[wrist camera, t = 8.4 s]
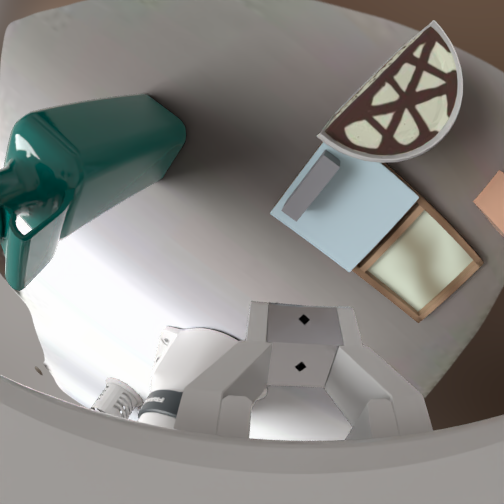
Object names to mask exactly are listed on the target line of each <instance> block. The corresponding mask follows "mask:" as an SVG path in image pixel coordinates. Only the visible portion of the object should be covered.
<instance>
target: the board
mask: <svg viewBox="0 0 504 504" xmlns="http://www.w3.org/2000/svg"><path fill="white" fill-rule="evenodd" d="M322 143H323V142H322ZM322 143H321V144H322ZM319 147H320V146H319ZM319 147H318V148H319ZM316 151H317V150H316ZM316 151H315V152H316ZM313 155H314V154H313ZM313 155H312V156H313ZM310 159H311V158H310ZM310 159H309V160H310ZM307 163H308V162H307ZM307 163H306V164H307ZM382 164H383V165H384V166H385V167H387V168H388V169H389V170H390V171H391V172H392V173H393V174H395V175H396V176H397V177H398V178H399V179H400V180H401V181H403V182H404V183H405V184H406V185H407V186H408V187H409V188H410V189H411V190H412V191H414V192H415V193H416V194H417V195H418V197H419V199H418V200H417V201H416V202H415V203H414V204H413V205H412V207H411V208H410V209H409V210H408V211H407V212H406V213H405V214H404V215H403V217H402V218H401V219H400V220H399V221H398V222H397V223H396V224H395V225H394V226H393V228H392V229H391V230H390V231H389V232H388V233H387V234H386V235H385V236H384V237H383V238H382V239H381V240H380V241H379V242H378V244H377V245H376V246H375V247H374V248H373V249H372V250H371V251H370V252H369V253H368V254H367V255H366V256H365V257H364V258H363V259H362V260H361V261H360V262H359V263H358V264H357V265H356V266H355V267H354V268H353V269H352V271H353V272H355V273H356V274H357V275H358V276H360V277H361V278H362V279H364V280H365V281H366V282H367V283H369V284H370V285H371V286H373V287H374V288H375V289H376V290H378V291H379V292H380V293H381V294H383V295H384V296H385V297H387V298H388V299H389V300H390V301H392V302H393V303H394V304H395V305H397V306H398V307H399V308H400V309H402V310H403V311H404V312H405V313H407V314H408V315H409V316H410V317H411V318H413V319H414V320H415V321H416V322H418V323H419V322H420V321H422V320H423V319H424V318H425V317H426V316H428V315H429V314H430V313H431V312H432V311H433V310H435V309H436V308H437V307H438V306H439V305H440V304H441V303H442V302H444V301H445V300H446V299H447V298H448V297H449V296H450V295H451V294H452V293H454V292H455V291H456V290H457V289H458V288H459V287H460V286H461V285H462V284H463V283H464V282H465V281H466V280H467V279H468V278H469V277H470V276H471V275H472V274H473V273H474V272H475V271H477V270H478V269H479V267H480V266H481V265H482V264H483V263H484V262H483V261H482V259H481V258H480V256H479V255H478V254H477V253H476V252H475V251H474V249H473V248H472V247H471V246H470V245H469V244H468V243H467V242H466V241H465V239H464V238H463V237H462V236H461V235H460V234H459V233H458V232H457V231H456V230H455V229H454V228H453V227H452V226H451V225H450V223H449V222H448V221H447V220H446V219H445V218H444V217H443V216H442V215H441V214H440V213H439V212H438V211H437V210H436V209H435V208H434V207H433V206H432V205H431V204H430V203H429V202H428V201H426V200H425V199H424V198H423V197H422V196H421V195H420V194H419V193H418V192H417V191H416V190H415V189H414V188H413V187H412V186H411V185H409V184H408V183H407V182H406V181H405V180H404V179H403V178H402V177H401V176H399V175H398V174H397V173H396V172H395V171H394V170H393V169H391V168H390V167H389V166H388V165H387V164H386V163H382ZM304 167H305V166H304ZM304 167H303V168H304ZM301 171H302V170H301ZM301 171H300V172H301ZM298 175H299V174H298ZM298 175H297V176H298ZM295 179H296V178H295ZM295 179H294V180H295ZM292 183H293V182H292ZM292 183H291V184H292ZM289 187H290V186H289ZM289 187H288V188H289ZM286 191H287V190H286ZM286 191H285V192H286ZM283 195H284V194H283ZM283 195H282V196H283ZM280 199H281V198H280ZM280 199H279V200H280ZM277 203H278V202H277ZM277 203H276V204H277ZM275 206H276V205H275ZM275 206H274V207H275ZM272 210H273V209H272Z"/></svg>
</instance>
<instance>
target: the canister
mask: <svg viewBox="0 0 504 504" xmlns="http://www.w3.org/2000/svg"><path fill="white" fill-rule="evenodd" d="M473 202H474V203H475V205H476V206H477V207H478V208H479V209H480V210H481V212H482V213H483V214H484V215H485V216H486V218H487V219H488V220H489V221H490V222H491V224H492V225H493V226H494V227H495V229H496V230H497V231H498V232H499V233H500V234H501V236H502V237H503V238H504V173H503V172H501V171H500V170H499V171H498V172H497V173H496V175H495V176H494V177H493V178H492V180H491V181H490V182H489V183H488V185H487V186H486V187H485V188H484V189H483V191H482V192H481V193H480V194H479V195H478V197H477V198H476V199H475V200H474V201H473Z"/></svg>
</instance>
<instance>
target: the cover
mask: <svg viewBox="0 0 504 504" xmlns="http://www.w3.org/2000/svg"><path fill="white" fill-rule="evenodd" d="M418 199H419V197H418V195H417V194H416V193H415V192H414V191H412V190H411V189H410V188H409V187H408V186H407V185H406V184H405V183H404V182H403V181H401V180H400V179H399V178H398V177H397V176H396V175H395V174H393V173H392V172H391V171H390V170H389V169H388V168H387V167H385V166H384V165H383V164H382V163H378V162H370V161H364V160H360V159H356V158H352V157H350V156H348V155H345V154H343V153H340V152H338V151H337V150H335V149H333V148H332V147H330V146H328V145H327V144H325V143H324V142H323V143H322V144H321V145H320V147H319V148H318V149H317V151H316V152H315V153H314V155H313V156H312V157H311V159H310V160H309V161H308V163H307V164H306V165H305V167H304V168H303V169H302V171H301V172H300V173H299V175H298V176H297V177H296V179H295V180H294V181H293V183H292V184H291V185H290V187H289V188H288V189H287V191H286V192H285V193H284V195H283V196H282V197H281V199H280V200H279V201H278V203H277V204H276V206H275V207H274V208H273V210H272V211H271V213H270V214H271V215H272V216H274V217H275V218H277V219H278V220H279V221H281V222H282V223H284V224H285V225H286V226H288V227H289V228H290V229H292V230H293V231H295V232H296V233H297V234H299V235H300V236H301V237H303V238H304V239H305V240H307V241H308V242H310V243H311V244H312V245H314V246H315V247H316V248H318V249H319V250H320V251H322V252H323V253H324V254H326V255H327V256H328V257H330V258H331V259H332V260H334V261H335V262H336V263H338V264H339V265H340V266H342V267H343V268H344V269H345V270H347V271H348V272H350V271H351V270H352V269H353V268H354V267H355V266H356V265H357V264H358V263H359V262H360V261H361V260H362V259H363V258H364V257H365V256H366V255H367V254H368V253H369V252H370V251H371V250H372V249H373V248H374V247H375V246H376V245H377V244H378V242H379V241H380V240H381V239H382V238H383V237H384V236H385V235H386V234H387V233H388V232H389V231H390V230H391V229H392V228H393V226H394V225H395V224H396V223H397V222H398V221H399V220H400V219H401V218H402V217H403V215H404V214H405V213H406V212H407V211H408V210H409V209H410V208H411V207H412V205H413V204H414V203H415V202H416V201H417V200H418Z"/></svg>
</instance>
